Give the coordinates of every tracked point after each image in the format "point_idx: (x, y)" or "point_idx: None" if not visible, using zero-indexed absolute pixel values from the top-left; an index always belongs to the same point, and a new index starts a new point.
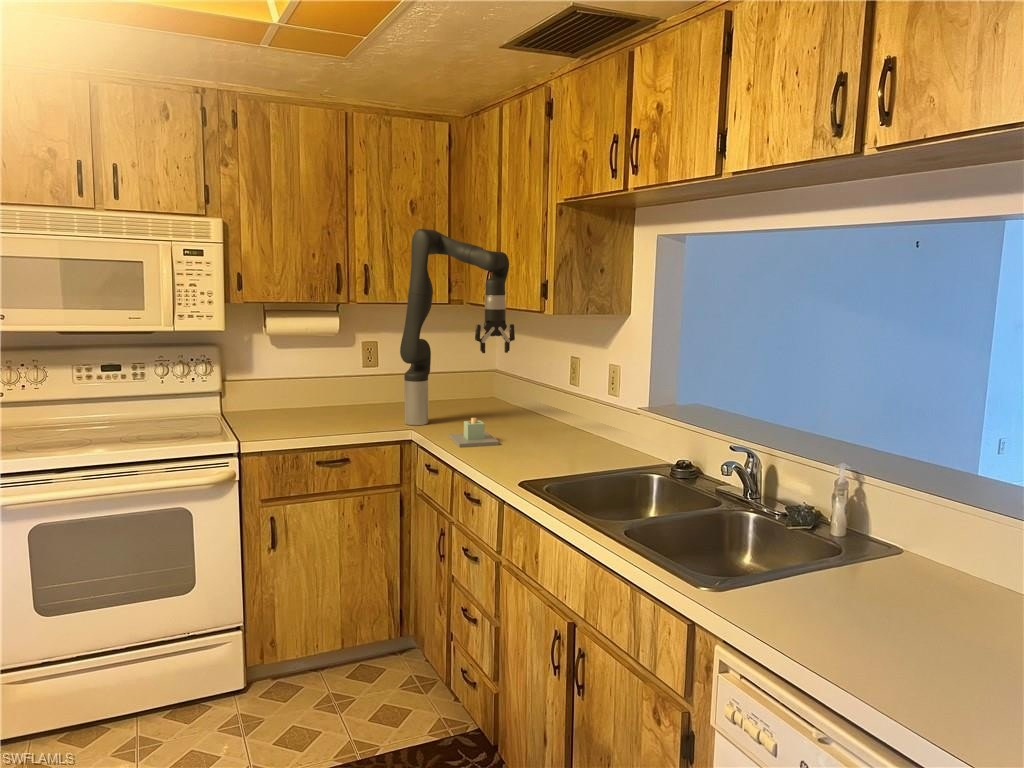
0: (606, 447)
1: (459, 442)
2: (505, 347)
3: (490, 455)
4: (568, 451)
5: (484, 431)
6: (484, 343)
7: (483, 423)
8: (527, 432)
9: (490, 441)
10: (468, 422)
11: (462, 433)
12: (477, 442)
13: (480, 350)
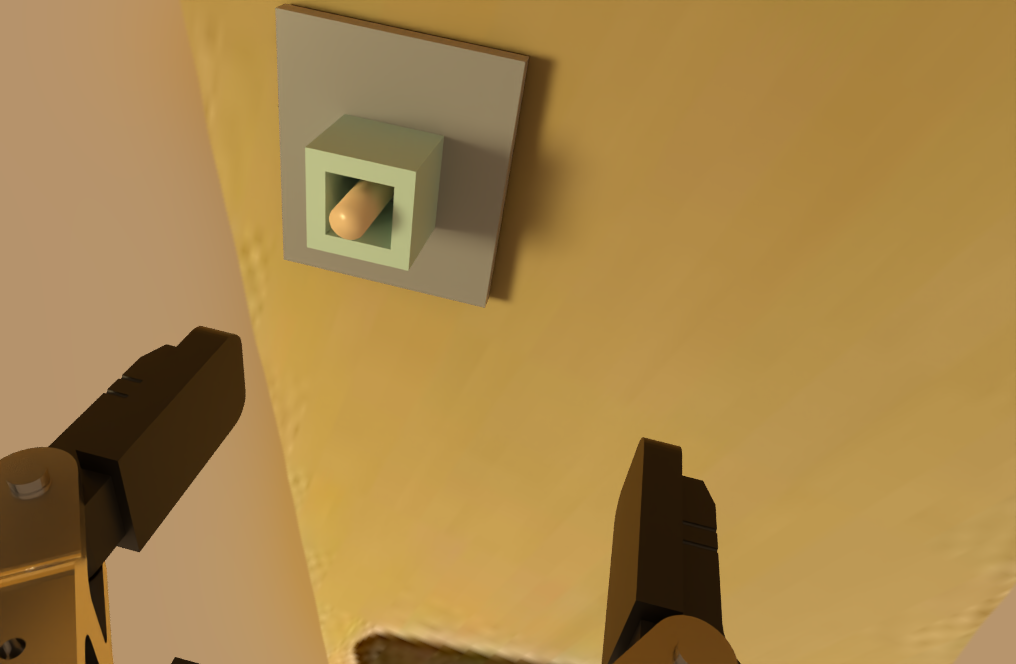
0: (923, 536)
1: (289, 234)
2: (623, 549)
3: (386, 410)
4: (717, 505)
5: (422, 247)
6: (125, 544)
7: (404, 263)
8: (842, 78)
9: (444, 286)
10: (325, 195)
11: (358, 28)
12: (375, 274)
13: (149, 354)
